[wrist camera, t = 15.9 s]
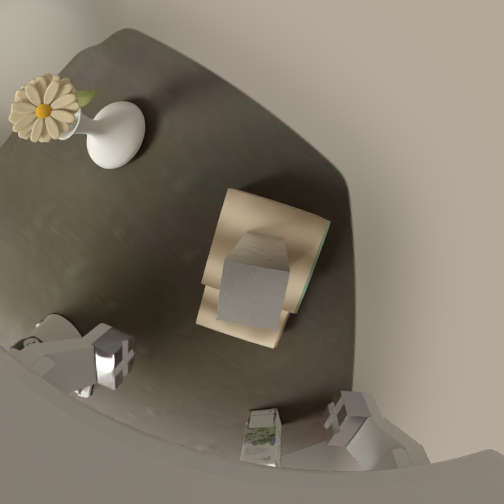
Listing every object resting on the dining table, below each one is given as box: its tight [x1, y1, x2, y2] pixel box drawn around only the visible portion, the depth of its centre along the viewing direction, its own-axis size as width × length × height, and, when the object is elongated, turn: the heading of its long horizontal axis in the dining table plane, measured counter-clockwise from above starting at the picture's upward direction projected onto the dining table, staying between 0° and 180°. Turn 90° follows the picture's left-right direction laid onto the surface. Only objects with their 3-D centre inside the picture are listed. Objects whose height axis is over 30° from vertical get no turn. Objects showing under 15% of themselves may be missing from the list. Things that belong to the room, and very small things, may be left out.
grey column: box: [216, 232, 290, 331], centre depth 25 cm, size 4×4×14 cm
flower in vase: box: [9, 73, 145, 169], centre depth 26 cm, size 13×11×25 cm
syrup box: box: [240, 408, 282, 467], centre depth 40 cm, size 6×6×14 cm
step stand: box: [196, 188, 331, 348], centre depth 37 cm, size 20×12×8 cm, turn 163°
